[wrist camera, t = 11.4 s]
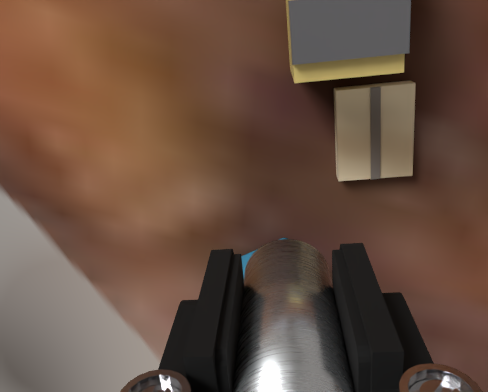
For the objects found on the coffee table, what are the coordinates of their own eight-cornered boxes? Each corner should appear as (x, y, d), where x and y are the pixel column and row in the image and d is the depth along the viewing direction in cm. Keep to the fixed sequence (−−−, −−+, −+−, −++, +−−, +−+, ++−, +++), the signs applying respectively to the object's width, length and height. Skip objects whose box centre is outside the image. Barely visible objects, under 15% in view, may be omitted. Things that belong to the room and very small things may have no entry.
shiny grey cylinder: (238, 241, 12) (208, 424, 7) (329, 234, 12) (376, 419, 7) (247, 316, 13) (228, 532, 8) (333, 311, 13) (377, 531, 7)
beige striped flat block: (333, 87, 24) (336, 91, 23) (410, 80, 24) (416, 83, 23) (336, 175, 26) (338, 181, 25) (407, 169, 26) (413, 176, 25)
